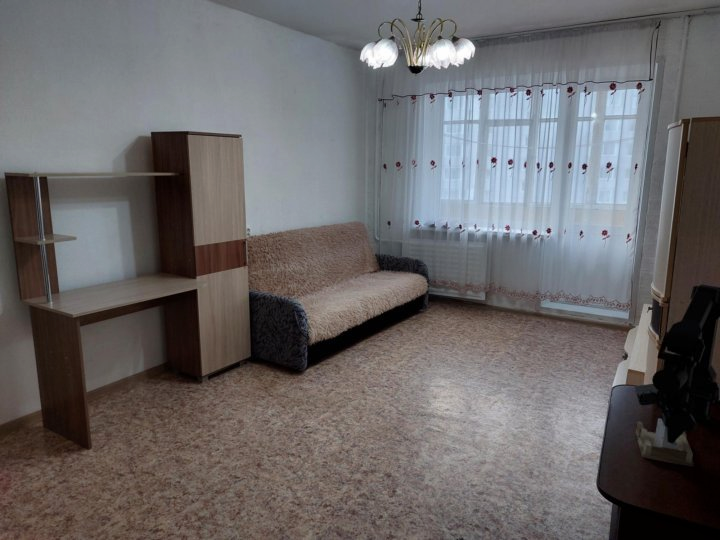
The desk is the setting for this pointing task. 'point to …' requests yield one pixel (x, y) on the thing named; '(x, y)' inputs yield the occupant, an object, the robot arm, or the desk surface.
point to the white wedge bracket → (663, 437)
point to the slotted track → (661, 453)
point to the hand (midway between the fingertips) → (668, 436)
